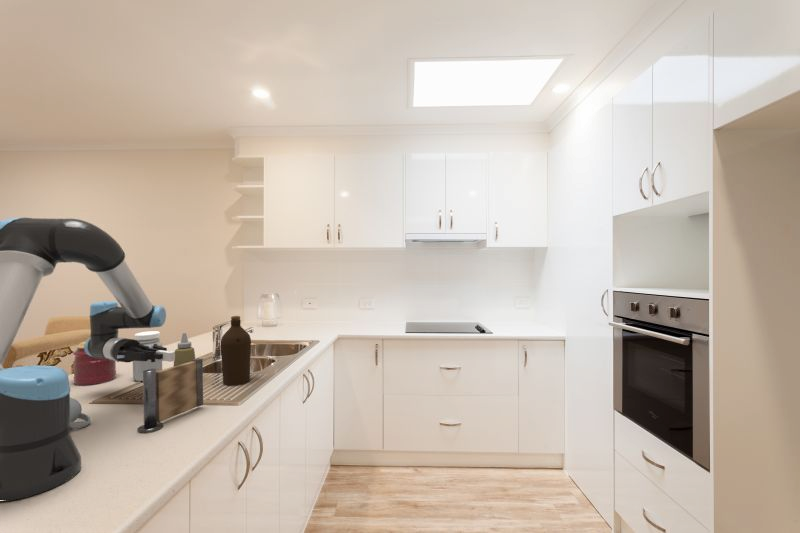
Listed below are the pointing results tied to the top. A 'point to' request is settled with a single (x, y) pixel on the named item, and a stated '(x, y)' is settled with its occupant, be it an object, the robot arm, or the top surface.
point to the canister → (92, 368)
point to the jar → (140, 366)
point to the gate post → (150, 403)
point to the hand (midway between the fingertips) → (172, 356)
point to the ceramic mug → (77, 414)
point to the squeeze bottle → (184, 352)
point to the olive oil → (236, 354)
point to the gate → (179, 389)
